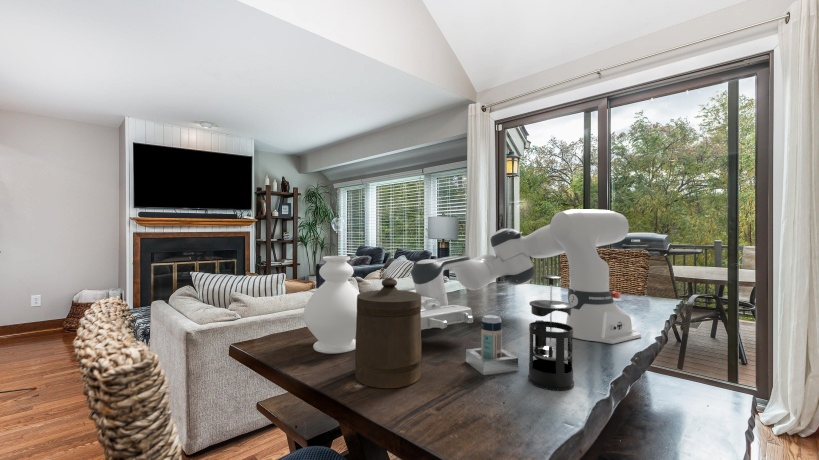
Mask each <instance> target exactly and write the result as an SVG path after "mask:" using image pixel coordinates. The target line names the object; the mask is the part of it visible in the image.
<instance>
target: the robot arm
mask: <svg viewBox="0 0 819 460" xmlns="http://www.w3.org/2000/svg"><path fill="white" fill-rule="evenodd" d="M629 225H630V224H629V221H628V219H627V217H626V216H625V215H623V214H622V213H619V212H616V211H612V210H608V209H590V208H589V209H587V208H586V209H582V208H581V209H579V208H578V209H577V208H572V209H566V210H562V211H558V212H557V213H555V214H554V215H553V216H552V218H551V220H550V224H547V225H544V226H542V227H539V228H537V229H536V230H534V231H533V232H531V233H530V234H528V235H525V236H523V235H522V234H523V231H518V230H517V229H515V228H511V227H508V228H501V229H499V230H497V231H495V232H494V234H493V235H492V236H491V237H490V244H491V247H492V249H493V252H494V255H493V254H483V255H479V256H475V257H473V258H471V257H470V255H466V254H464V255H463V254H457V255H450V256H445V257H438V258H433V259H430V258H429V259H427V258H426V259H421V260H419V261H416V262H415V263H414V265H413V266H412V269H411V270H410V275H411V278H412V281H413V284H414V288H415V292H416V293H418V294H420V295H421V331H422V330H427V329H428V330H429V329H432V328H439V329H446V328H447V327H448V325H453V324H454V325H455V324H458V323H466V324H472V323H474V316H473V315H472V313H473V312H472V308H471V307H469V306H463V305H458V304H449V301H448V295H447V291H446V286H445V280H444V271H447V270H452V271H453V272H454V275H455V277H456V279H457V281H458V282H459V284H461V285H460V286H463V288H464V289H465V288H466V289H467V290H469V291H477V290H480V289H483V288H485V287H486V286H488V285H489V284H491V283H493V282H494V281H495V279H498V278H500V277H503V278H502V281H504V282H507V283H509V284H510V285H514V286H515V285H516V286H518V285H519V286H520V285H525V284H528V283H529V282H530V281H531V280H533V278H534V277H535V276H536V269H535V266H534V265H533V261H532V260H531V258H533V259H534V258H535V259H545V258H551V257H556V256H559V255H563V254H565V256H566V258H567V263H568V273H569V287H568V288H567V289H568V290H567V300H568V302H567V303H570V304H572V305H573V306H574V307H573V309H571V316H569V315H568V314H567V313H566V314H567V316H566V320H565V324H567V325H569V326H571V327H573V336H572V338H573V339H574V338H575V339H578V340H582V341H590V342H591V341H592V342H598V343H599V342H600V343H604V344H605V343H606V344H610V345H611V344H612V345H613V344H618V343H622V342H626V341H631V340H634V339H639V338H641V337H642V334H641V332H638V331H637V330H635V329H633V324H632V322H633V321H632V319H631V316H630V315H629V314H628V313H627V312H626V311H624V310H623V309H622V308H621V307H620V306H618V305H617V304H616V303H614V298H615V299H618V300H619V299H620V298H621V296H622V295H621V294H620V292H619V291H614V290H613V291H611V290H610V266H609V264H608V263H607V261H605V260H604V259H602V258H601V257H600V255H599V253H598V250H597V247H602V246H608V245H611V244H616V243H619V242H621V241H623V240H625V238H626V237H627V236H628V233H629V231H630V230H629V229H630V228H629V227H630V226H629ZM563 332H567V331H566V330H563Z"/></svg>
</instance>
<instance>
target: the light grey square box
mask: <svg viewBox="0 0 819 460" xmlns="http://www.w3.org/2000/svg"><path fill="white" fill-rule="evenodd" d="M465 363H467V364H468V365H470V366H471V367H472V368H474V369H475V370H476V371H478V372H479V374H481V375H483V376H488V375H496V374H503V373H513V372H519V358H518V356H516V355H514V354H513V353H510V352H509V351H507V350H505V349H504V348H503V347H501V358H493V359H485V358H484V357H482V356H481V347H477V348H475V347H474V348H468V349H467V348H466V349H465Z"/></svg>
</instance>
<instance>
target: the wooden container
mask: <svg viewBox="0 0 819 460" xmlns="http://www.w3.org/2000/svg"><path fill="white" fill-rule="evenodd" d="M397 284H398V281H397V280H396V279H394V277H385V278H383V279H382V280H381V285H382V287H381V289H377V290H368V291H364V292H359V293H360V294H358V295H357V317H356V337H355V339H356V346H355V349H354V351H355V354H354V355H355V357H354V359H355V364H354V365H355V366H354V367H355V371H354V372H355V375H354V376H355V379H356V380H357V381H358V382H359V383H360V384H362V385H365V386H367V387H371V388H375V389H376V388H377V389H398V388H399V389H400V388H403V387H407V386H410V385H413V384H415V383H416V382H418V381H419V380H420V378H421V376H422V330H421V295H420V294H418V293H416V291H410V290H403V289H401V290H400V289H397V287H396V286H397Z"/></svg>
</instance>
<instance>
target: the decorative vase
mask: <svg viewBox="0 0 819 460" xmlns="http://www.w3.org/2000/svg"><path fill="white" fill-rule="evenodd" d="M322 260H323V261H324V262H325V263H324V264H323V265H322V266H321V267H320V268H319V269H318V270H319V271H318V274H319V276H320V277H321V278H322V279H323V280H325V281H323V283H322V284H320V286H319V287H317V289H316V290H315V291H314V292H313V293H312V294H311V296H310V298H309V299H308V301H307V302H306V304H305V307H304V309H303V310H304V311H303V322H304V324H305V325H306V327H307V329H308V330H309V331H310V332H311V333H312V335H313V336H314V337H315V338H316V339H317V341H315V342H314V343H313V349H314V351H316V352H319V353H323V354H342V353H347V352H352V351H355V346H356V317H357V295H358V294H360V293H361V292H360V291H359V290H358V289H357V288H356V287H355V286H354V285H353V284H352V283H351V282H350V281H349V280H350V278H351V277H353V275H354V268H353V266H352V265H350V263H348V261H350V260H351V256H349V255H326V256H322Z"/></svg>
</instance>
